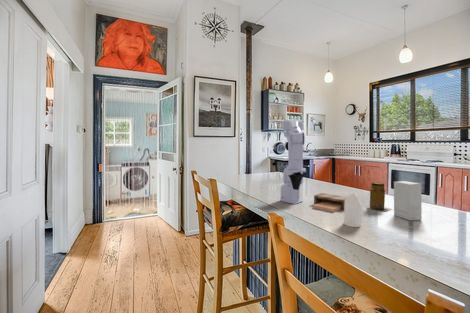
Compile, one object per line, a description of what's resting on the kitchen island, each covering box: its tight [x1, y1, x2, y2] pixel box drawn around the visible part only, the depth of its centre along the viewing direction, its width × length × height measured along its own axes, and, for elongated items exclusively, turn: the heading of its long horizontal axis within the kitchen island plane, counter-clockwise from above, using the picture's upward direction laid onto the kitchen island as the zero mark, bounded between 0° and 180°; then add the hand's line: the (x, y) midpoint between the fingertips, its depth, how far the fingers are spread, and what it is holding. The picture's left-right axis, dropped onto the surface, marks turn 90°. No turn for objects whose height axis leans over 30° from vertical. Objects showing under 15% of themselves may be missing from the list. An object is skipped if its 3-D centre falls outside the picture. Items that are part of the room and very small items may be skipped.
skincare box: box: [393, 180, 423, 221], centre depth 101 cm, size 8×6×15 cm
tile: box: [312, 200, 343, 213], centre depth 117 cm, size 10×14×2 cm
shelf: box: [313, 192, 349, 211], centre depth 121 cm, size 15×8×4 cm, turn 46°
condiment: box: [365, 181, 392, 212], centre depth 115 cm, size 7×8×12 cm
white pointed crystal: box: [343, 193, 363, 228], centre depth 93 cm, size 6×12×6 cm
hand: (295, 189), depth 111 cm, fingers closed
